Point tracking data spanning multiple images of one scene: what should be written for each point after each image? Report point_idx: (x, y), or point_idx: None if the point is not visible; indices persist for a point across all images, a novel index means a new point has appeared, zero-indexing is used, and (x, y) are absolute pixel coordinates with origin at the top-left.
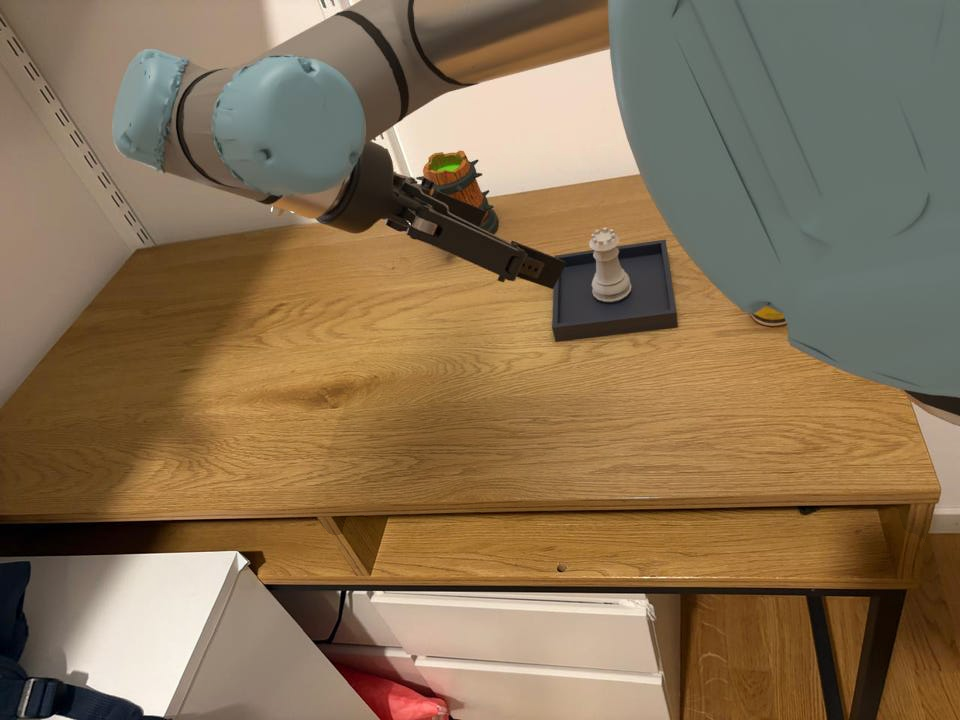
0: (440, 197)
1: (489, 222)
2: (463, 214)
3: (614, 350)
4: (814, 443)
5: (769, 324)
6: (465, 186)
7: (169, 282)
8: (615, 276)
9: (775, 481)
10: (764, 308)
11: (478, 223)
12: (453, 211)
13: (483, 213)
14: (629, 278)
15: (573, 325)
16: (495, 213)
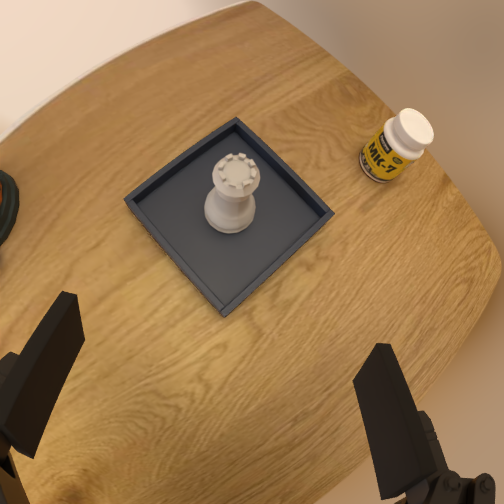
0: (14, 419)
1: (8, 191)
2: (56, 357)
3: (296, 288)
4: (469, 277)
5: (388, 181)
6: None
7: None
8: (248, 203)
9: (470, 322)
10: (394, 174)
11: (78, 324)
12: (43, 383)
13: (75, 303)
14: None
15: (246, 297)
16: (5, 173)
